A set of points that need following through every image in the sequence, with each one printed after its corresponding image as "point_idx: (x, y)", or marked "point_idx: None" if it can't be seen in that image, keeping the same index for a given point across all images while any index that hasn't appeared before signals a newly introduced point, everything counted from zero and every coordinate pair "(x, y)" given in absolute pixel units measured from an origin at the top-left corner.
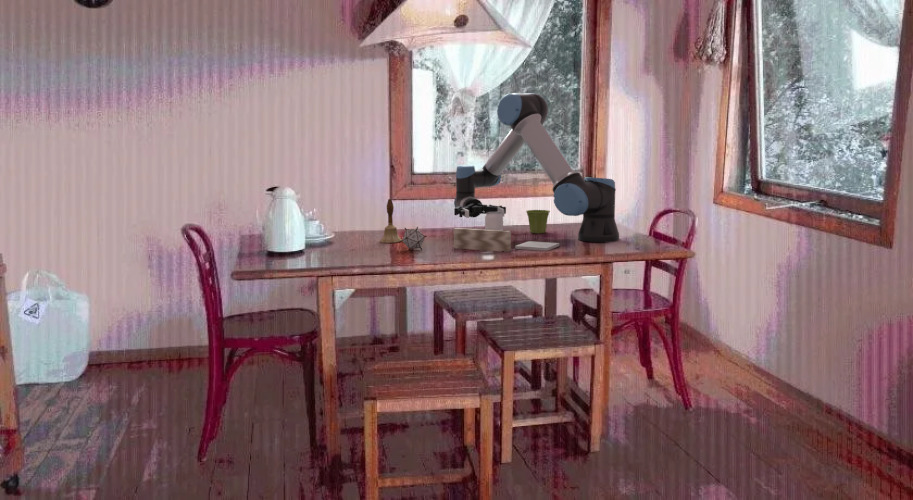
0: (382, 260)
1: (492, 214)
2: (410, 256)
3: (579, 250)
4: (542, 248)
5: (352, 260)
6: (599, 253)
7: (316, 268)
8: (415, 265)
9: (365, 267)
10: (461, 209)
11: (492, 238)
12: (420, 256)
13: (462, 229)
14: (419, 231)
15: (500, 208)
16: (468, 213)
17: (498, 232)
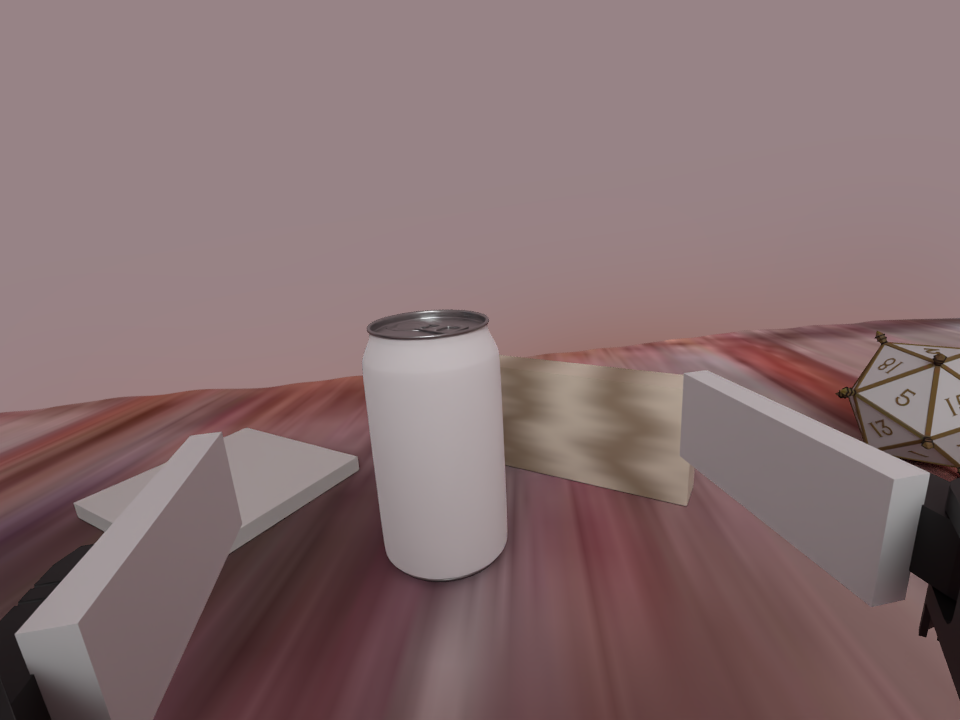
0: (846, 359)
1: (448, 317)
2: (795, 386)
3: (113, 445)
4: (260, 433)
5: None
6: (107, 414)
7: (942, 323)
8: (697, 339)
9: (818, 329)
10: (952, 489)
11: None
12: (755, 387)
13: (639, 372)
14: (895, 367)
15: (173, 489)
16: (688, 407)
17: None
